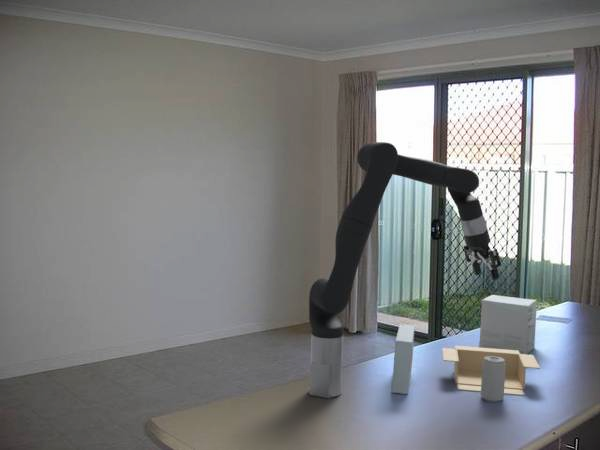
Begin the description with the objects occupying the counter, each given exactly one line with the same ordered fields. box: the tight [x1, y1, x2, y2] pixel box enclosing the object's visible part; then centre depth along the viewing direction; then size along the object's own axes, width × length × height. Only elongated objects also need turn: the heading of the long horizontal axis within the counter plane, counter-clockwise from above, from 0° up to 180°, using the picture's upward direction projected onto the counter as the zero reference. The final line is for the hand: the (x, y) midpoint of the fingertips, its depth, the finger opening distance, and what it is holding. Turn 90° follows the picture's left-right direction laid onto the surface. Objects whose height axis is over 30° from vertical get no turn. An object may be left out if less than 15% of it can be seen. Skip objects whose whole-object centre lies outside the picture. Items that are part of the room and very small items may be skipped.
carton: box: [442, 345, 541, 397], centre depth 211 cm, size 22×28×8 cm
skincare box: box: [390, 323, 415, 395], centre depth 207 cm, size 21×5×16 cm, turn 168°
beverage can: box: [480, 356, 506, 403], centre depth 195 cm, size 6×6×12 cm
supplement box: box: [478, 294, 538, 355], centre depth 249 cm, size 17×13×18 cm
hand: (487, 276), depth 217 cm, fingers open, 8 cm apart
